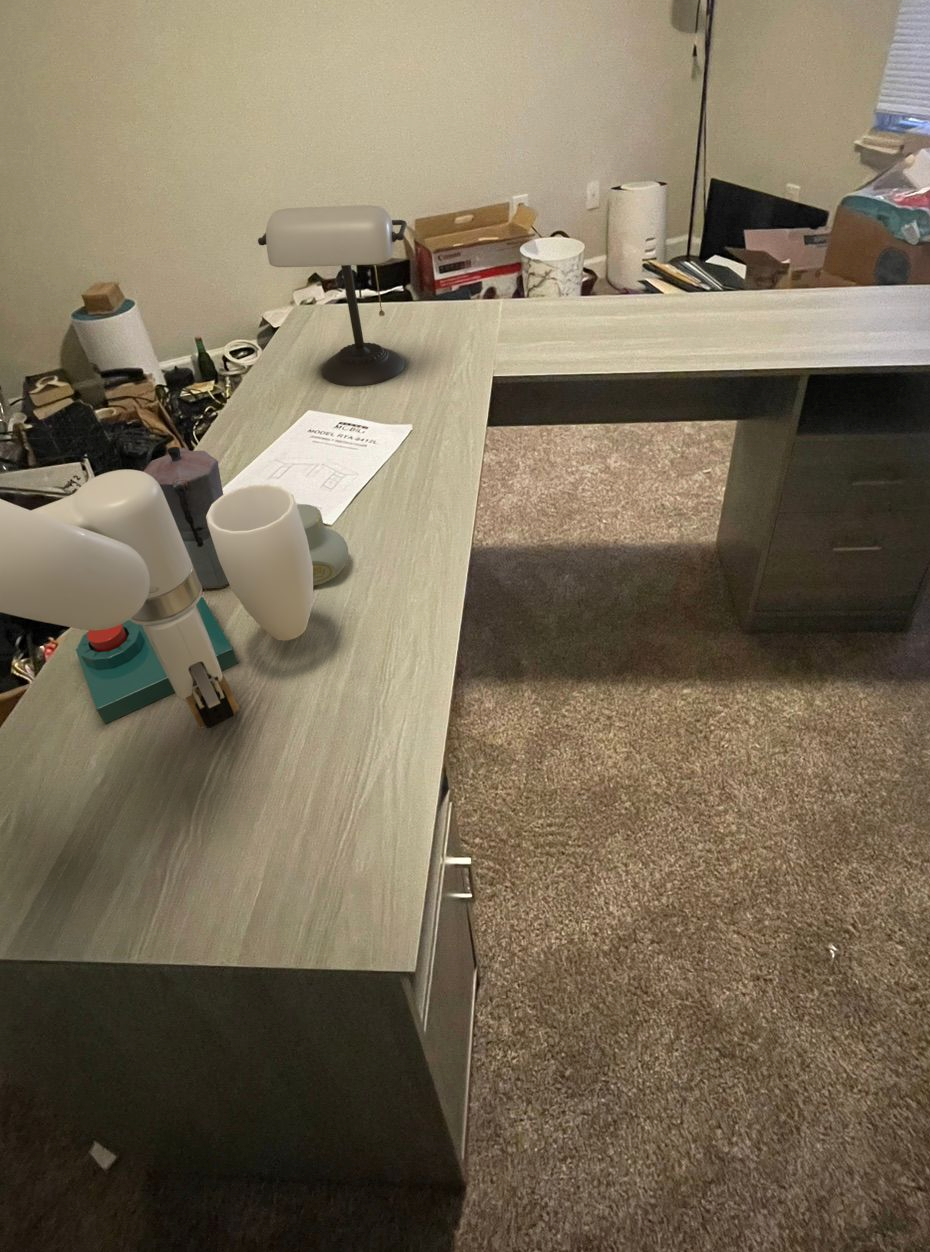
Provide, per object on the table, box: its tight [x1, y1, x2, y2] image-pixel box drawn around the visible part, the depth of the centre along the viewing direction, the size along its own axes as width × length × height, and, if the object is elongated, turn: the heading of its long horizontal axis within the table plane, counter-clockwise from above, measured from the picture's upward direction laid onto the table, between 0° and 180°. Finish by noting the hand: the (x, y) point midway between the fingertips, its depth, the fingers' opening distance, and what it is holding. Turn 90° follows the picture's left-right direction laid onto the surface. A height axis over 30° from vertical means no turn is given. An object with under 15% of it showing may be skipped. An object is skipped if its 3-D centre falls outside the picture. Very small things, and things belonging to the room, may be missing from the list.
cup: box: [206, 483, 314, 641], centre depth 88 cm, size 10×10×22 cm
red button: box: [87, 624, 127, 652], centre depth 90 cm, size 4×4×2 cm
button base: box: [75, 596, 239, 725], centre depth 92 cm, size 16×12×4 cm
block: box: [185, 673, 240, 729], centre depth 83 cm, size 4×4×4 cm
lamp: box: [257, 204, 408, 387], centre depth 145 cm, size 26×24×34 cm
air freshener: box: [297, 503, 349, 587], centre depth 103 cm, size 11×8×10 cm
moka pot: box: [142, 446, 230, 590], centre depth 100 cm, size 10×15×20 cm, turn 26°
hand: (212, 705), depth 85 cm, fingers closed on block, 4 cm apart
